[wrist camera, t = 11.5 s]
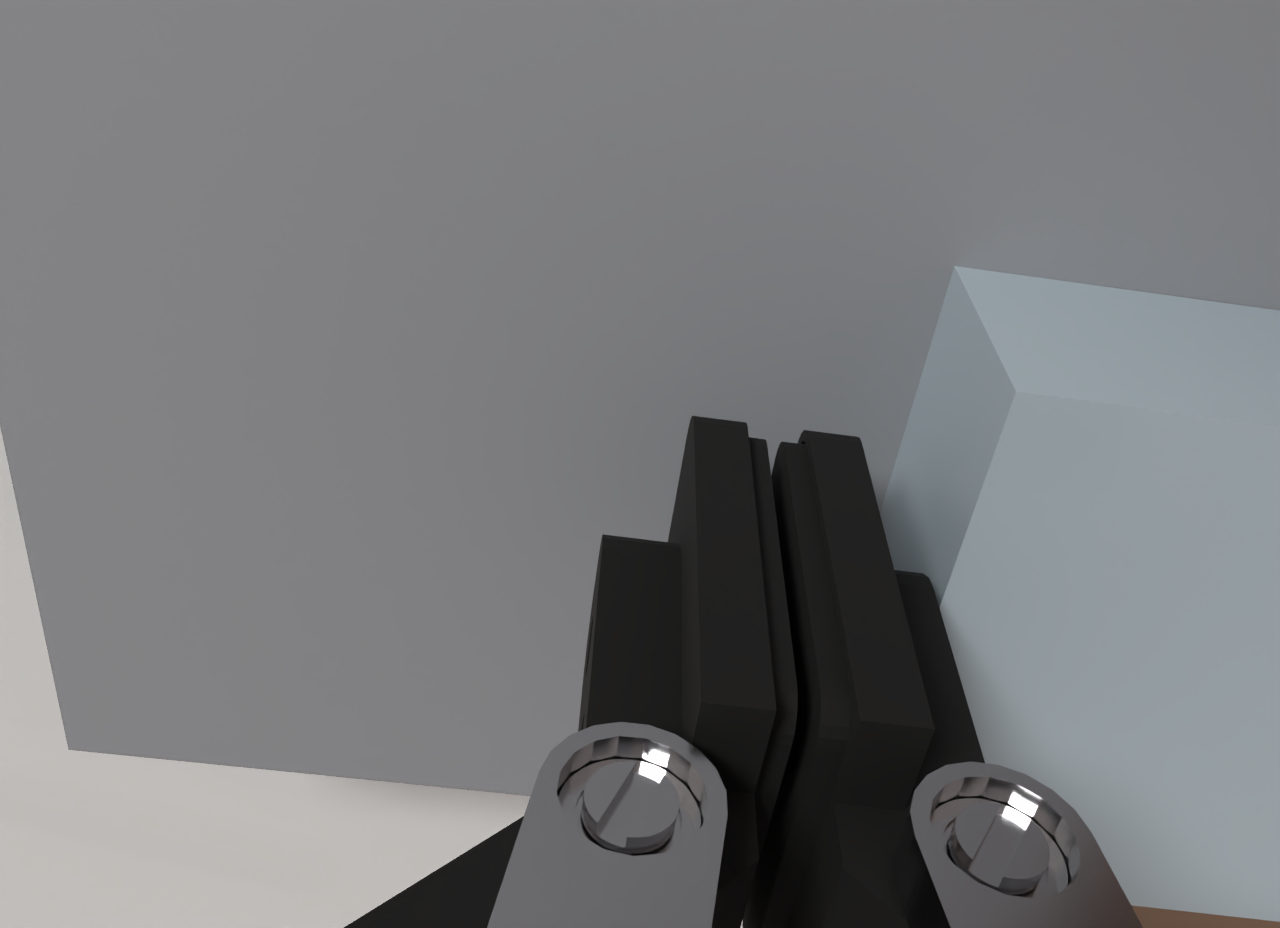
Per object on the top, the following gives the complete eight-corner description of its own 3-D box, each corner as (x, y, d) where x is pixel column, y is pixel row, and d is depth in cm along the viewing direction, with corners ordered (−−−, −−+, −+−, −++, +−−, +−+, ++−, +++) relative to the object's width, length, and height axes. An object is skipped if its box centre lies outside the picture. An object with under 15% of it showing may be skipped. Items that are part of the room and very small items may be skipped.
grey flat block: (-78, -1490, 9) (-566, -2266, 5) (1754, -1161, 9) (2384, -1667, 6) (177, 563, 19) (68, 749, 15) (1029, 655, 19) (1103, 853, 16)
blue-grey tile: (954, 266, 11) (1016, 391, 9) (1539, 346, 12) (1728, 485, 10) (821, 707, 15) (845, 874, 13) (1283, 761, 15) (1381, 933, 13)
